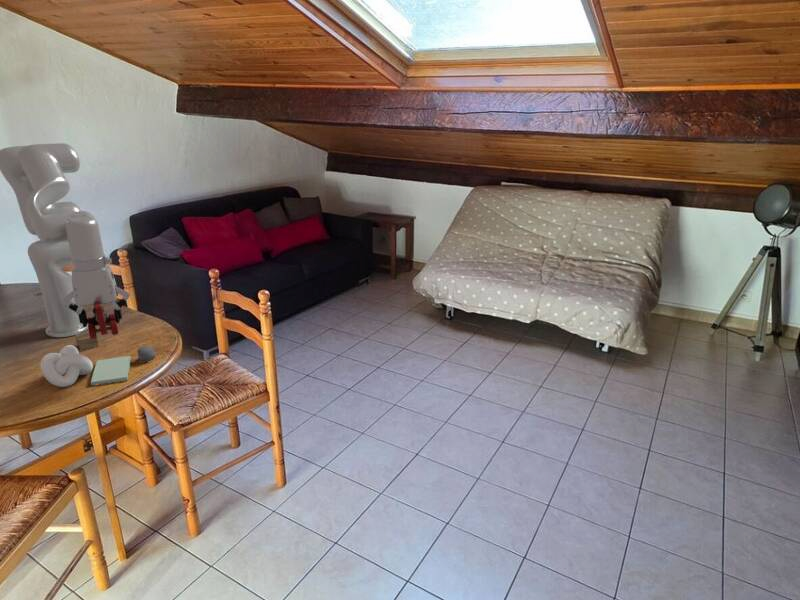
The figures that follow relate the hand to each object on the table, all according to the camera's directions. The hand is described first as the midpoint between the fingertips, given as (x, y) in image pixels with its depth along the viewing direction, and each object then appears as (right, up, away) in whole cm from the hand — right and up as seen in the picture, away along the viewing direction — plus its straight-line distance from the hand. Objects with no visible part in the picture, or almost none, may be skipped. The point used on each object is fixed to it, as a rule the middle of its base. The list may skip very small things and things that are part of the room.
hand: (102, 322), depth 143 cm
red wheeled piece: (0, -3, +1) cm, 3 cm away
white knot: (-11, -16, +2) cm, 20 cm away
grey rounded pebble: (+6, -12, +14) cm, 19 cm away
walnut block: (-16, -8, +20) cm, 27 cm away
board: (-1, -15, +6) cm, 16 cm away
